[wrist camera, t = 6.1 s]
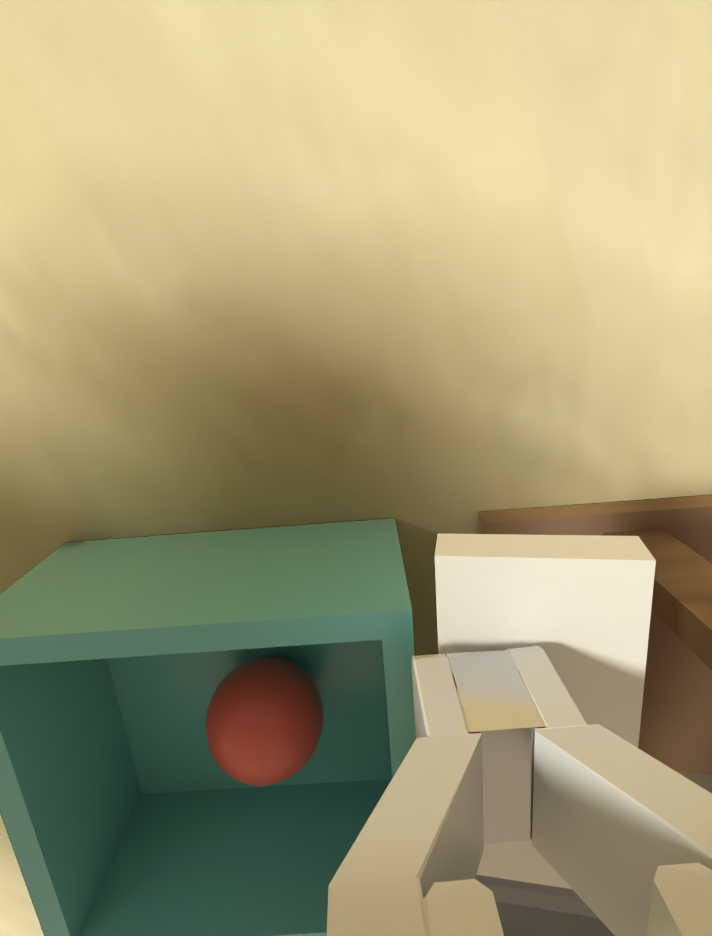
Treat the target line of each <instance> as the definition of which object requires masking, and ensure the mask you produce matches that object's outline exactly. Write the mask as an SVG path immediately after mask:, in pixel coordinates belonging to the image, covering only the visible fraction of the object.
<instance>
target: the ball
mask: <svg viewBox="0 0 712 936" xmlns="http://www.w3.org/2000/svg"><path fill="white" fill-rule="evenodd" d="M323 720H324V714H323V704H322V700H321V696H320V693H319V690H318V688H317V686H316V684H315V683H314V681H313V680H312V678H311V677H310V676H309V675H308V674H307V672H306V671H304V670H303V669H302V668H301V667H300V666H298V665H297V664H295V663H293V662H291V661H289V660H286V659H283V658H278V657H260V658H255V659H252V660H249V661H247V662H244V663H242V664H240V665H239V666H237V667H236V668H234V669H233V670H232V671H231V672H229V673H228V674H227V675H226V676H225V677H224V679H223V680H222V681H221V682H220V683H219V685H218V687H217V688H216V690H215V692H214V694H213V696H212V698H211V700H210V703H209V706H208V710H207V715H206V736H207V742H208V745H209V748H210V751H211V753H212V756H213V757H214V759H215V761H216V762H217V764H218V765H219V766H220V768H221V769H222V770H223V771H224V772H226V773H227V774H228V775H229V776H231V777H232V778H234V779H236V780H238V781H240V782H242V783H245V784H249V785H256V786H264V785H272V784H275V783H278V782H281V781H284V780H286V779H288V778H290V777H291V776H292V775H294V774H295V773H297V772H298V771H299V770H300V769H301V768H302V767H303V766H304V765H305V764H306V763H307V762H308V760H309V759H310V758H311V757H312V755H313V753H314V751H315V750H316V747H317V745H318V743H319V740H320V737H321V733H322V729H323Z"/></svg>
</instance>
